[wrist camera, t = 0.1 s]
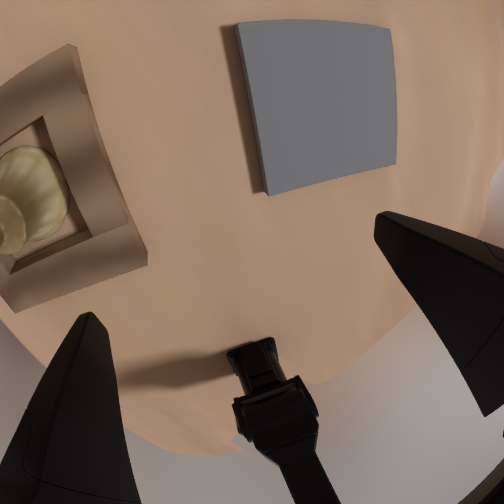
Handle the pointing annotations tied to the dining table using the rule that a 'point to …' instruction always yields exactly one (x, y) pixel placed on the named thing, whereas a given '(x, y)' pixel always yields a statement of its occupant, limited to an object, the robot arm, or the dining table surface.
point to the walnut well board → (79, 180)
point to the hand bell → (30, 197)
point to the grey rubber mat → (319, 99)
